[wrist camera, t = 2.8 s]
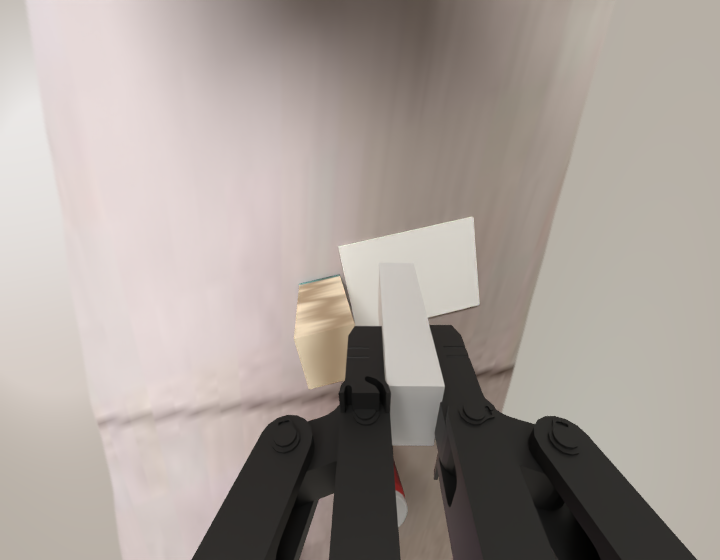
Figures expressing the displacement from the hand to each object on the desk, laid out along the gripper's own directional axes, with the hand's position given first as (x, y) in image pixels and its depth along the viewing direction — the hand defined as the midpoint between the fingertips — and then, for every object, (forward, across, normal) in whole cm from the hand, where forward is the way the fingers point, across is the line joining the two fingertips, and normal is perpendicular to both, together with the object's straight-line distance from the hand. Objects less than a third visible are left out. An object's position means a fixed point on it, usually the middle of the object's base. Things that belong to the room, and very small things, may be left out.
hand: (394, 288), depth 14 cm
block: (+20, -7, -15) cm, 26 cm away
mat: (+22, +4, -13) cm, 26 cm away
